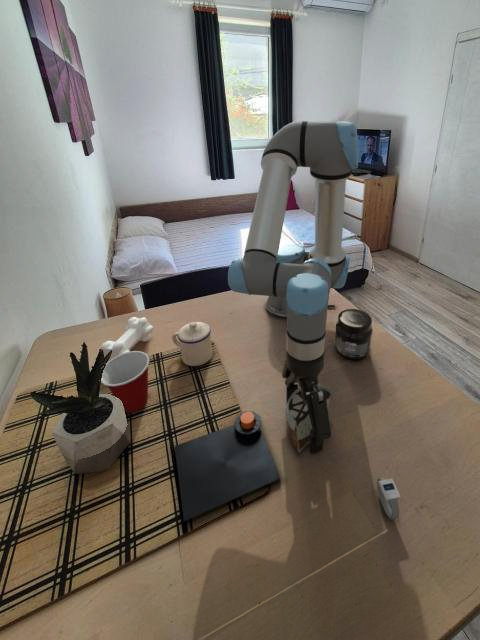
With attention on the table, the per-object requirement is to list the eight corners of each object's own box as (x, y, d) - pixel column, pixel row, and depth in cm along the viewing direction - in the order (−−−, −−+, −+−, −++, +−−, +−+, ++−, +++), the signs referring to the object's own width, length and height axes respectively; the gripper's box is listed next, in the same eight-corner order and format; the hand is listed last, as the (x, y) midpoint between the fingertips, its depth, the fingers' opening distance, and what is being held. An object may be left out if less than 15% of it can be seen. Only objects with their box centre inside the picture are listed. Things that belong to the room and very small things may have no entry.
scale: (256, 416, 76) (256, 407, 75) (282, 481, 63) (282, 471, 62) (174, 446, 70) (172, 436, 68) (184, 525, 56) (182, 514, 55)
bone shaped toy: (128, 371, 89) (122, 348, 86) (100, 368, 91) (93, 344, 88) (157, 338, 103) (152, 316, 100) (132, 335, 104) (127, 313, 101)
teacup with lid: (218, 349, 98) (215, 316, 93) (203, 370, 90) (199, 335, 85) (183, 342, 101) (178, 310, 96) (166, 362, 93) (159, 328, 88)
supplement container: (358, 337, 104) (361, 305, 99) (376, 358, 94) (381, 324, 90) (328, 343, 100) (330, 311, 96) (344, 366, 91) (347, 332, 87)
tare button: (252, 415, 73) (251, 409, 73) (256, 426, 71) (256, 420, 70) (239, 420, 72) (238, 414, 72) (243, 431, 70) (242, 425, 69)
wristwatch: (401, 523, 56) (405, 506, 54) (386, 526, 56) (390, 509, 54) (385, 486, 62) (389, 469, 60) (372, 489, 62) (375, 472, 60)
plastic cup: (110, 394, 82) (99, 357, 77) (156, 381, 86) (148, 345, 81) (107, 429, 73) (95, 389, 68) (158, 413, 77) (150, 374, 72)
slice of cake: (311, 405, 79) (312, 374, 75) (331, 421, 75) (333, 389, 71) (273, 438, 71) (273, 404, 67) (293, 457, 67) (294, 423, 63)
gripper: (356, 386, 56) (346, 469, 64) (297, 314, 75) (296, 385, 84) (317, 400, 53) (312, 485, 61) (267, 321, 73) (269, 394, 81)
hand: (303, 427), depth 73 cm, fingers open, 11 cm apart
